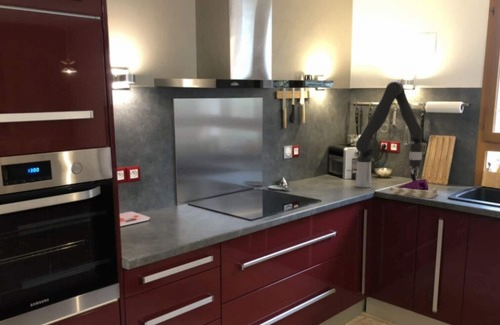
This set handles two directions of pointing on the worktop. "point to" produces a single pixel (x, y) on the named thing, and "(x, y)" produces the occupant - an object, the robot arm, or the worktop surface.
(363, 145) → the robot arm
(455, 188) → the worktop surface
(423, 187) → the purple wedge
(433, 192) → the beige tray
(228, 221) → the worktop surface
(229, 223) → the worktop surface
